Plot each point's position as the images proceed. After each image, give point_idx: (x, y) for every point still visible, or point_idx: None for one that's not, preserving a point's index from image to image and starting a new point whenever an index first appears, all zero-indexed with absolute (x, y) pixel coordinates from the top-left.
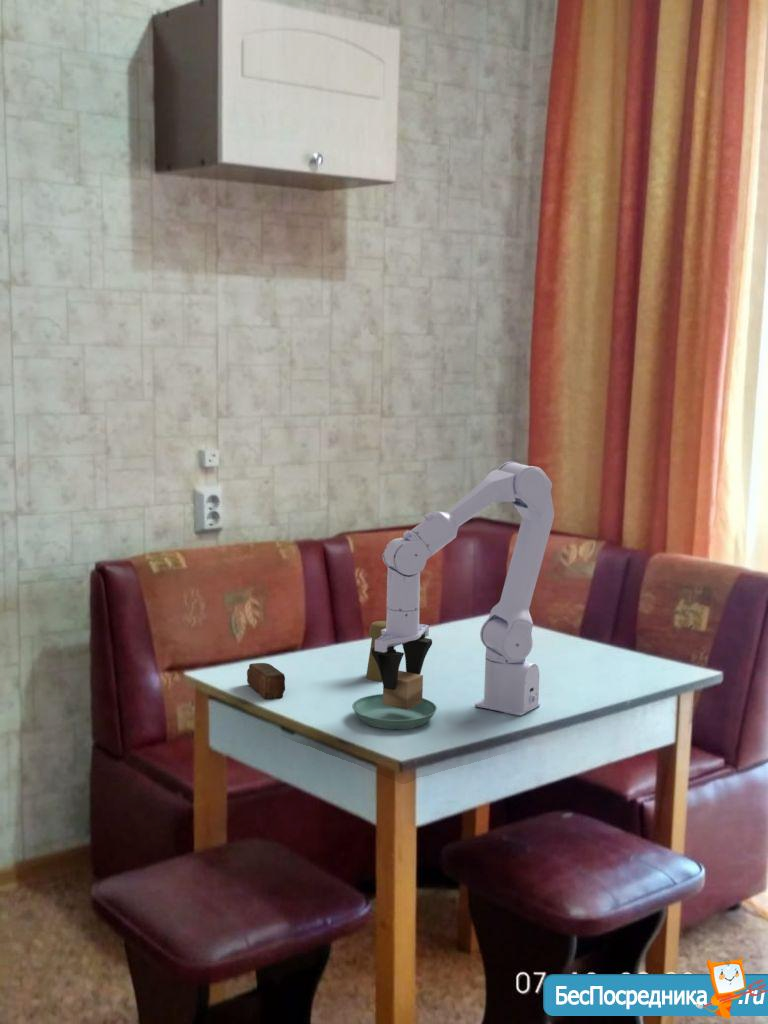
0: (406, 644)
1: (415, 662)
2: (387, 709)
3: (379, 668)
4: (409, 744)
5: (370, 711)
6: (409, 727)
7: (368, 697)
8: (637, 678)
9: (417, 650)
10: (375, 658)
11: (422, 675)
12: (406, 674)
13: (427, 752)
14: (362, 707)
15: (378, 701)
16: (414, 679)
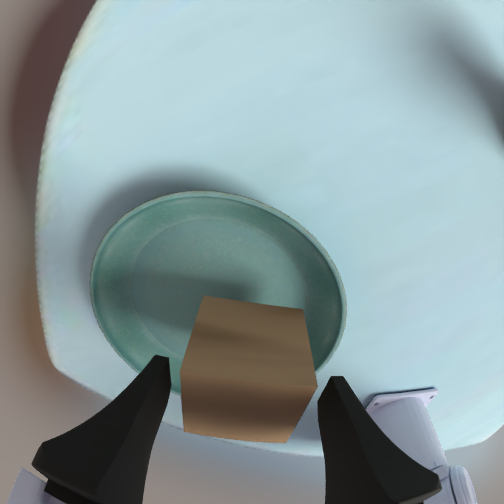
0: (367, 495)
1: (333, 449)
2: (279, 261)
3: (106, 408)
4: (102, 368)
5: (230, 224)
6: (167, 356)
7: (265, 210)
8: (485, 425)
9: (336, 496)
10: (66, 437)
11: (283, 442)
12: (269, 417)
13: (100, 391)
14: (210, 206)
15: (290, 234)
16: (229, 437)
